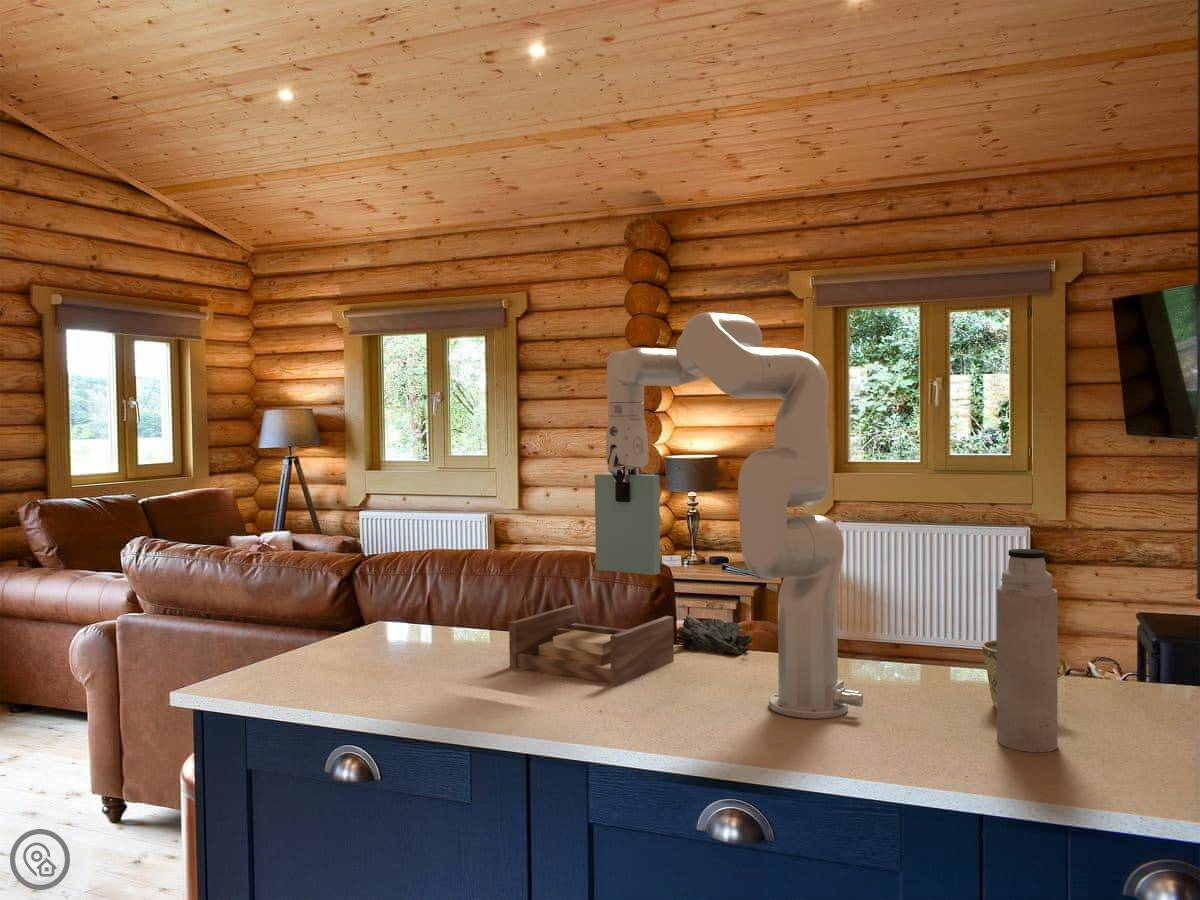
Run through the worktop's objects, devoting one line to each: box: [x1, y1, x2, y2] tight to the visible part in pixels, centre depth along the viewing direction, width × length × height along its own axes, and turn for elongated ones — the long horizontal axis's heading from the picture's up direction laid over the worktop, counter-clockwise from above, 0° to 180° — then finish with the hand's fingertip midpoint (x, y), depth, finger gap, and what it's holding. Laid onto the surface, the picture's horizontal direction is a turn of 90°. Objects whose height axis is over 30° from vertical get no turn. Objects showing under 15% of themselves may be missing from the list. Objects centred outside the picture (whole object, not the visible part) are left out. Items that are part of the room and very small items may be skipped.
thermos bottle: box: [996, 548, 1059, 753], centre depth 136 cm, size 8×8×28 cm
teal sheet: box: [594, 473, 661, 576], centre depth 195 cm, size 14×2×20 cm, turn 57°
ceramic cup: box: [981, 639, 1067, 709], centre depth 152 cm, size 13×10×10 cm
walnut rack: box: [508, 604, 675, 687], centre depth 179 cm, size 24×20×10 cm
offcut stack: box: [539, 630, 611, 667], centre depth 176 cm, size 16×9×6 cm, turn 57°
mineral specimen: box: [675, 613, 754, 656], centre depth 191 cm, size 15×13×10 cm
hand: (626, 500), depth 195 cm, fingers closed on teal sheet, 2 cm apart
